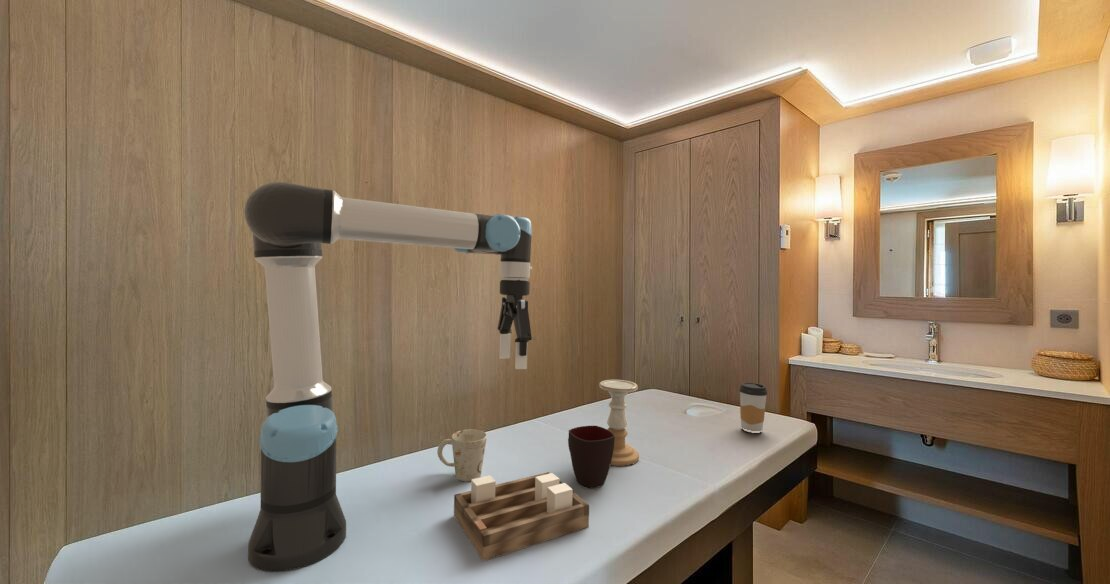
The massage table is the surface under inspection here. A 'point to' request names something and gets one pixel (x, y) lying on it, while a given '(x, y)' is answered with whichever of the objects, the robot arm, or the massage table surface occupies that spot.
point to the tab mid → (544, 485)
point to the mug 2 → (591, 454)
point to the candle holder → (619, 420)
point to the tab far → (482, 489)
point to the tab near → (559, 497)
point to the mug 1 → (466, 453)
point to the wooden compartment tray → (515, 518)
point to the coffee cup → (752, 406)
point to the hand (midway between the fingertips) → (512, 363)
